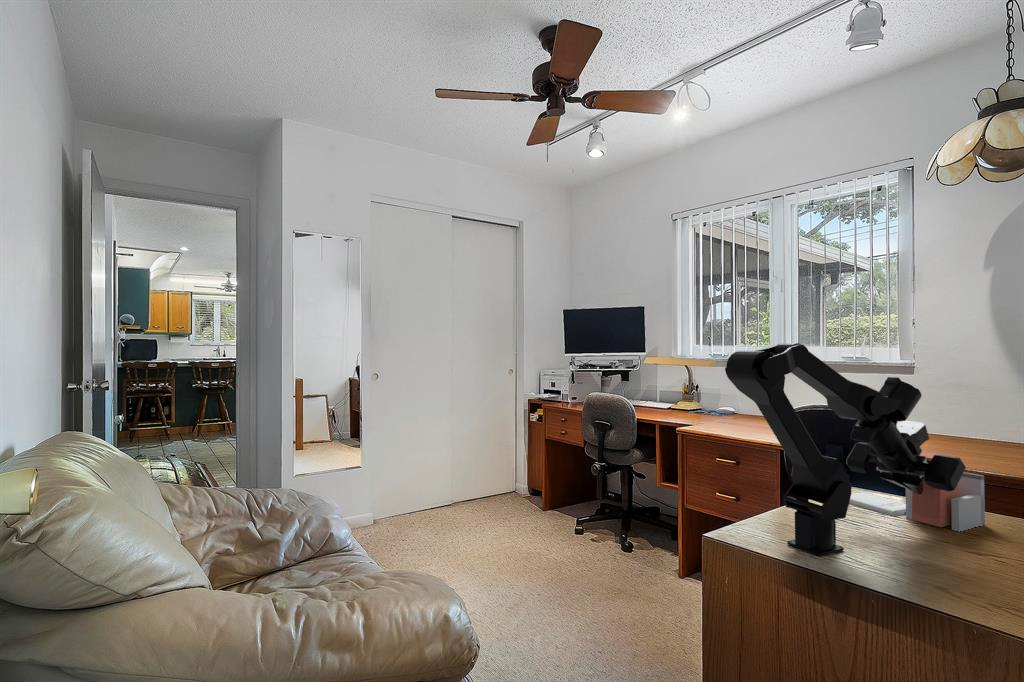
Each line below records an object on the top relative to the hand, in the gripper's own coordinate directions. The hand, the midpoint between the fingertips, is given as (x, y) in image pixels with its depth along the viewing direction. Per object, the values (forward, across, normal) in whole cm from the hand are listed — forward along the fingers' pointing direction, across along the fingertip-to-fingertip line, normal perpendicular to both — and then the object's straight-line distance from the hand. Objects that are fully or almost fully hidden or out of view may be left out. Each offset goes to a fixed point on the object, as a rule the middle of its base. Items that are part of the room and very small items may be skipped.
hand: (920, 492), depth 106 cm
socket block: (+11, 0, -1) cm, 11 cm away
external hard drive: (+10, +13, 0) cm, 16 cm away
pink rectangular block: (+8, 0, +1) cm, 8 cm away
